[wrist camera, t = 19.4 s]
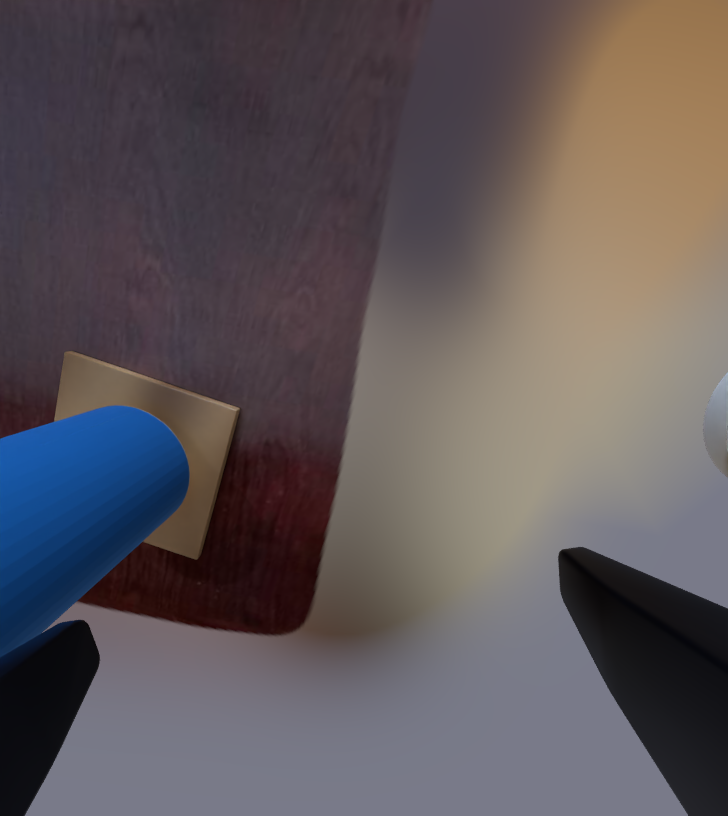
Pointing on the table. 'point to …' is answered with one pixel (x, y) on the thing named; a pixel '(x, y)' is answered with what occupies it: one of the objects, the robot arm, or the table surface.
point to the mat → (183, 413)
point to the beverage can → (79, 508)
